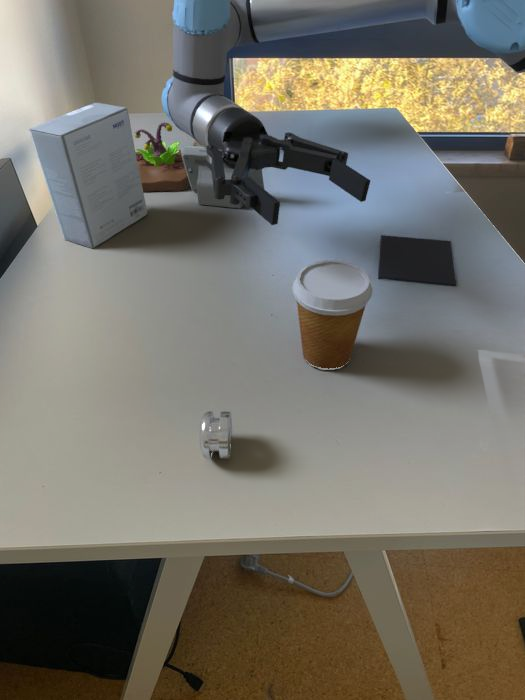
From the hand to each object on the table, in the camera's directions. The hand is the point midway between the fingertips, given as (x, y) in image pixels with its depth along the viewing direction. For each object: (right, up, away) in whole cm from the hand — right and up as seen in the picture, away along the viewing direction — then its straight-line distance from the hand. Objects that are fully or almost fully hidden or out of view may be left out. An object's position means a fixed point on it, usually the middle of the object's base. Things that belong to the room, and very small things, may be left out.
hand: (323, 202), depth 61 cm
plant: (-29, +22, +56) cm, 67 cm away
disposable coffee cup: (+1, -18, +8) cm, 20 cm away
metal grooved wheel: (-12, -29, -4) cm, 31 cm away
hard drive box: (-37, +6, +37) cm, 52 cm away
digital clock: (-15, +14, +46) cm, 50 cm away
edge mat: (+19, -2, +26) cm, 32 cm away
